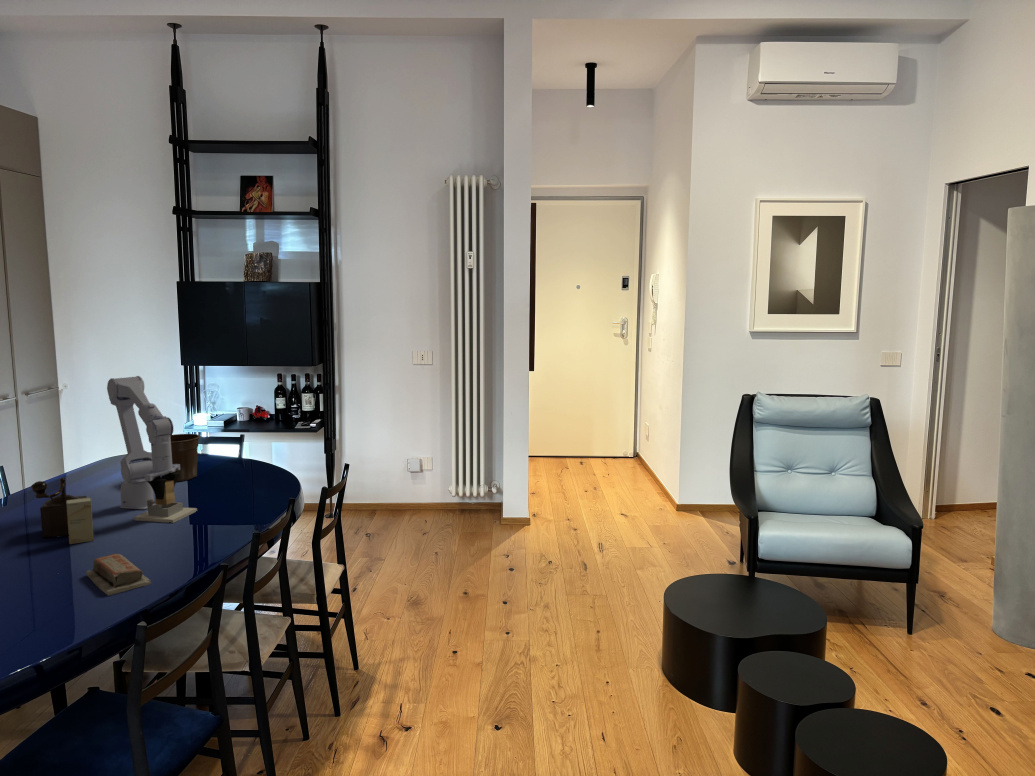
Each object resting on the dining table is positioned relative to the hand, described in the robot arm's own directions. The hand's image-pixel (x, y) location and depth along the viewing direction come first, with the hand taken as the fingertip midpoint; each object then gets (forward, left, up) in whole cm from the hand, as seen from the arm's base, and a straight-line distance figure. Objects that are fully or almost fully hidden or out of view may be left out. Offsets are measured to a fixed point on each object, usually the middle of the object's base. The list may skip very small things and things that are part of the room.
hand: (164, 497), depth 229 cm
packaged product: (+22, -48, -7) cm, 54 cm away
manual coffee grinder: (-19, -21, -6) cm, 29 cm away
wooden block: (0, 0, -2) cm, 2 cm away
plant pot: (-26, +43, -6) cm, 51 cm away
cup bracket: (0, 0, -6) cm, 6 cm away
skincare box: (-9, -25, -6) cm, 27 cm away
